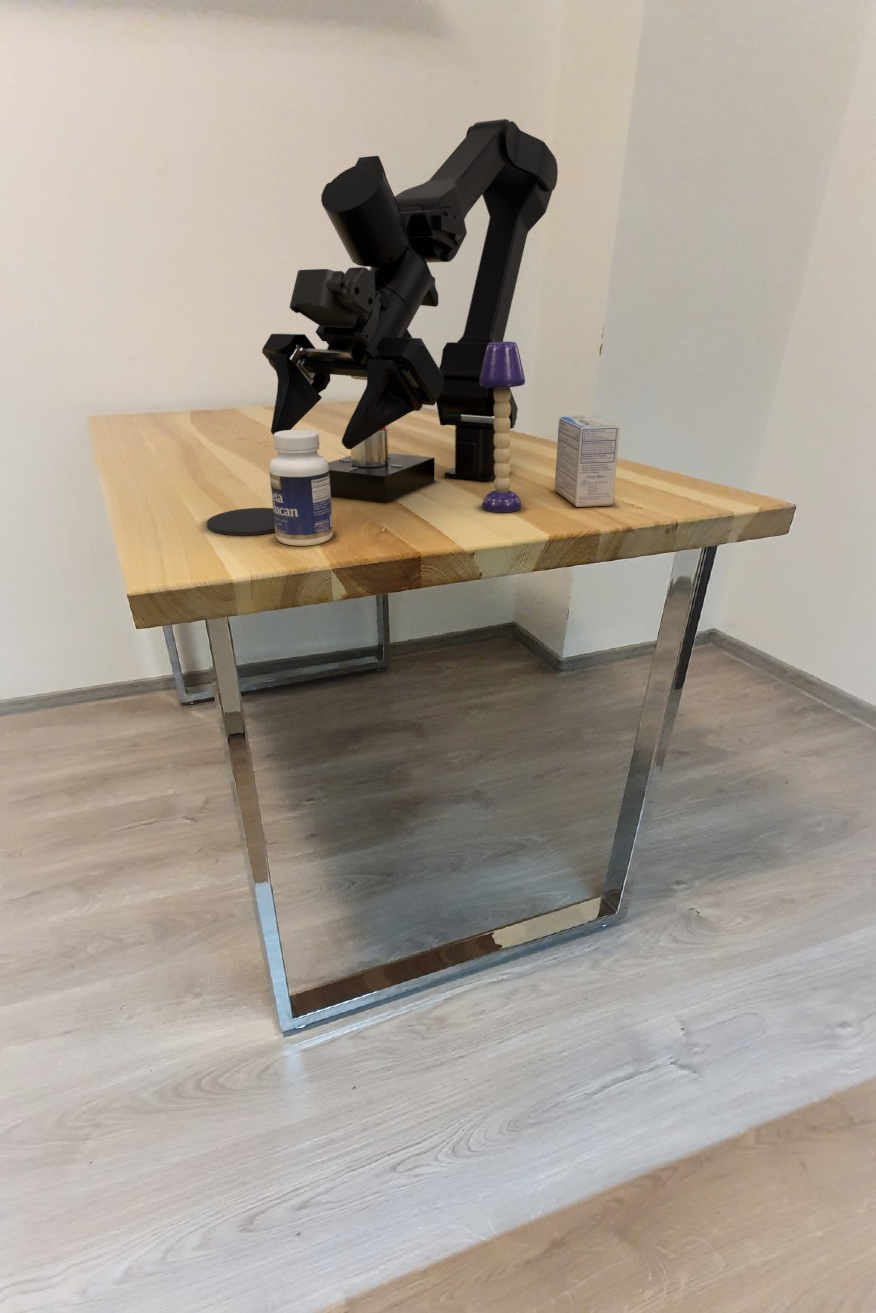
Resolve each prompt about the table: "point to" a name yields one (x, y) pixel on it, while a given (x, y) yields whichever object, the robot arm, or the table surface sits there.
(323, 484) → the pill bottle
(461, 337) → the robot arm
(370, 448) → the dial
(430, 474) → the panel
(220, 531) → the coaster
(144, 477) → the table surface
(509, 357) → the toy lamp
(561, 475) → the medicine box
